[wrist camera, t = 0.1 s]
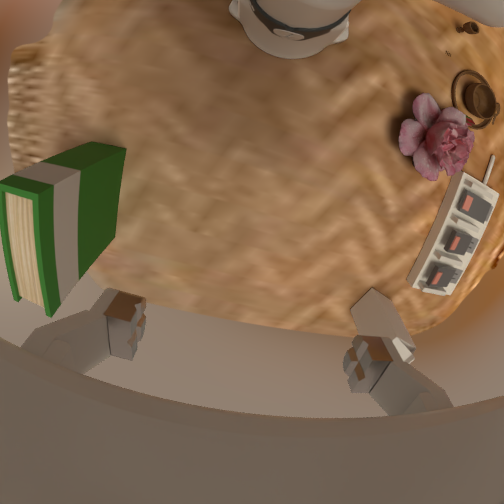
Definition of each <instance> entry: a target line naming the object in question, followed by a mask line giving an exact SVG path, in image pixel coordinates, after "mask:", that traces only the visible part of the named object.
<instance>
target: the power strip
mask: <svg viewBox="0 0 504 504" xmlns="http://www.w3.org/2000/svg"><path fill="white" fill-rule="evenodd" d="M494 160H495V156H494V155H492V156H491V159H490V162H489V165H488V168H487V171H486V174H485V177H484V180H483V183H481V182H480V181H478V180H476V179H475V178H473V177H471V176H470V175H468V174H466V173H465V172H463V171H461V170H460V171H459V172H456V173H455V174H454V175H453V176H452V178H451V181H450V184H449V187H448V189H447V192H446V194H445V197H444V199H443V202H442V204H441V207H440V209H439V212H438V214H437V217H436V219H435V221H434V223H433V226H432V228H431V230H430V232H429V235H428V237H427V239H426V241H425V243H424V245H423V247H422V250H421V252H420V254H419V256H418V258H417V260H416V262H415V264H414V266H413V268H412V269H411V271H410V273H409V275H408V277H407V279H406V280H407V281H408V282H409V284H410V285H411V287H413V288H418V289H421V291H422V292H427V293H433V294H438V295H443V296H445V294H447V295H451V294H452V292H453V290H454V289H455V287H456V285H457V283H458V282H459V280H460V278H461V276H462V275H463V273H464V271H465V269H466V267H467V265H468V263H469V262H470V260H471V258H472V256H473V254H474V252H475V250H476V248H477V246H478V244H479V242H480V239H481V237H482V235H483V233H484V231H485V229H486V226H487V224H488V222H489V219H490V217H491V215H492V212H493V210H494V207H495V205H496V202H497V200H498V197H499V193H497V192H496V191H494V190H492V189H491V188H489V187H488V186H486V184H487V181H488V179H489V176H490V173H491V170H492V167H493V163H494ZM465 189H466V190H468V191H470V192H472V193H474V194H475V195H477V196H479V197H481V198H482V199H484V200H486V201H487V202H489V203H491V204H492V205H491V208H490V210H489V212H488V215H487V217H486V220H485V222H484V224H482V223H481V222H479V221H477V220H475V219H473V218H471V217H469V216H467V215H465V214H463V213H462V212H460V211H458V210H457V208H458V205H459V203H460V200H461V198H462V195H463V193H464V190H465ZM452 229H455V230H458V231H461V232H464V233H468V234H470V235H471V236H472V237H473V238H472V240H471V242H470V245H469V247H468V249H467V251H466V253H465V255H459V254H454V253H449V252H446V251H445V250H444V247H445V244H446V242H447V240H448V238H449V236H450V234H451V232H452ZM435 265H443V266H450V267H454V268H455V269H456V272H455V274H454V275H453V277H452V279H451V281H450V283H449V284H448V286H447V287H429V286H428V285H427V284H426V281H427V279H428V277H429V276H430V274H431V272H432V270H433V268H434V266H435Z"/></svg>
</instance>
